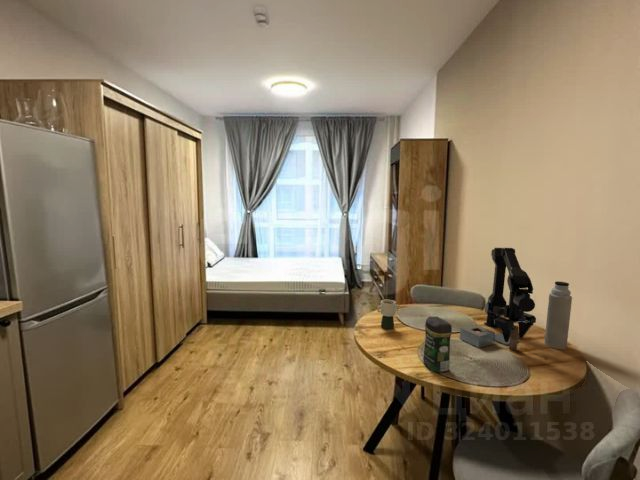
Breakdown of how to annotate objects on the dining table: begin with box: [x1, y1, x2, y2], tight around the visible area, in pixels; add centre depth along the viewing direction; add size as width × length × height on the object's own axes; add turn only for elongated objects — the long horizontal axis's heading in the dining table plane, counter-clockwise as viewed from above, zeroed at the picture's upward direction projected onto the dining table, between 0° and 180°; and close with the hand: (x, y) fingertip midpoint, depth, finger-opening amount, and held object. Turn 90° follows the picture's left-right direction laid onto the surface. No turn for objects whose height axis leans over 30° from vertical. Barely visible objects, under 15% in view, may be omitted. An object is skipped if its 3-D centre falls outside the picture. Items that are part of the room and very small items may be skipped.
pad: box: [495, 333, 520, 347], centre depth 151 cm, size 9×9×1 cm
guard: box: [459, 324, 496, 348], centre depth 149 cm, size 10×10×5 cm
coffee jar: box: [422, 315, 453, 373], centre depth 125 cm, size 10×8×19 cm
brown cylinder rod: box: [508, 324, 519, 352], centre depth 141 cm, size 3×3×10 cm
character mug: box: [377, 299, 400, 330], centre depth 163 cm, size 11×7×13 cm, turn 102°
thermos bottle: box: [544, 281, 573, 350], centre depth 145 cm, size 8×8×28 cm
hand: (513, 340), depth 141 cm, fingers open, 9 cm apart
